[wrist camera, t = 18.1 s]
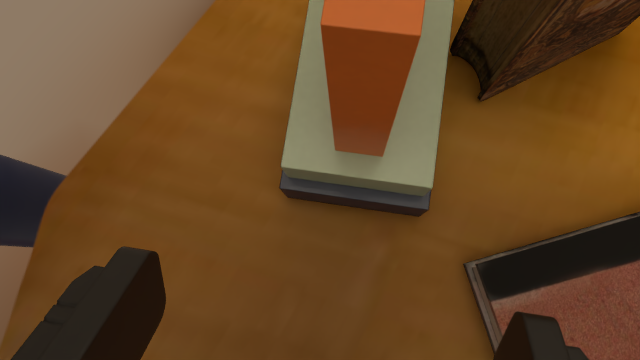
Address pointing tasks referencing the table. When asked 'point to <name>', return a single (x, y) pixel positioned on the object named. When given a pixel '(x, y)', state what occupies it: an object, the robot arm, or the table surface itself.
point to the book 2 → (569, 287)
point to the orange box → (368, 67)
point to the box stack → (405, 137)
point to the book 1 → (534, 35)
